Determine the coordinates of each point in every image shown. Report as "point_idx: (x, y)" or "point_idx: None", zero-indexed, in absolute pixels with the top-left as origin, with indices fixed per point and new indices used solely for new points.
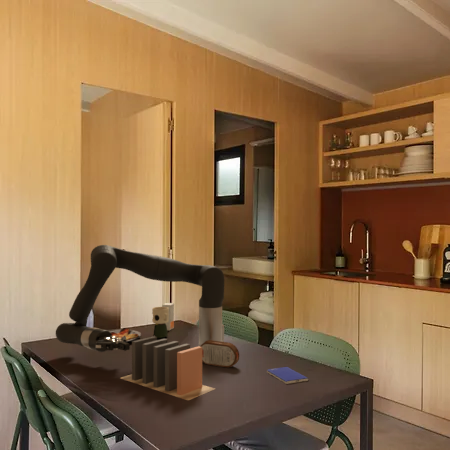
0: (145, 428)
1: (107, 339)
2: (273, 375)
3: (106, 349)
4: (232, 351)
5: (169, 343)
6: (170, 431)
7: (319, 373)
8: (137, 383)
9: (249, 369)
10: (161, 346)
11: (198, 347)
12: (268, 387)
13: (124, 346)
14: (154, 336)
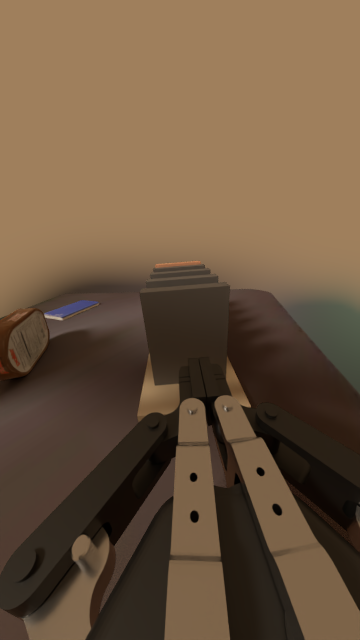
0: (269, 301)
1: (306, 526)
2: (77, 313)
3: (307, 462)
4: (42, 314)
5: (172, 271)
6: (250, 295)
7: (54, 305)
8: (227, 358)
9: (52, 331)
10: (197, 269)
11: (161, 264)
12: (117, 305)
13: (212, 368)
14: (140, 291)
